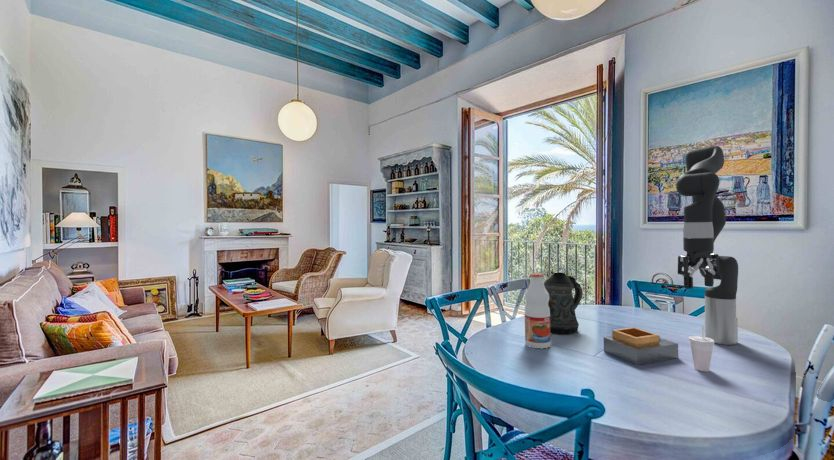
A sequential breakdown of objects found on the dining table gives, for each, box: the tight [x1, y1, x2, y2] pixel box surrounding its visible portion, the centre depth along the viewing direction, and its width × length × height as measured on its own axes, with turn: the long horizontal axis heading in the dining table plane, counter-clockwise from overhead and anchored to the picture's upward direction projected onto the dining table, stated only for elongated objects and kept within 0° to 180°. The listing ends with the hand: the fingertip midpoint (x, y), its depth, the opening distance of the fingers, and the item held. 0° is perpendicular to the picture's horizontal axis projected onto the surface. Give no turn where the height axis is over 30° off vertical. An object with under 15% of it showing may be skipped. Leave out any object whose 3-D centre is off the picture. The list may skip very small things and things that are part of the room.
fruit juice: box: [524, 272, 552, 350], centre depth 136 cm, size 9×9×28 cm
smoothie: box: [688, 324, 715, 372], centre depth 111 cm, size 6×6×14 cm
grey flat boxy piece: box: [603, 326, 679, 366], centre depth 125 cm, size 21×14×8 cm, turn 106°
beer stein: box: [543, 272, 583, 336], centre depth 157 cm, size 16×19×25 cm
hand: (698, 287), depth 111 cm, fingers open, 8 cm apart
